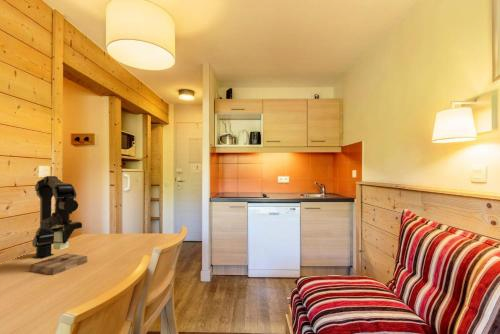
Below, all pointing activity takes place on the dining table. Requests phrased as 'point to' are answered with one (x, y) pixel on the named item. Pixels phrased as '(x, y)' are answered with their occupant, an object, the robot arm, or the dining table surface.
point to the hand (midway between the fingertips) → (61, 242)
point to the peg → (59, 241)
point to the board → (58, 264)
